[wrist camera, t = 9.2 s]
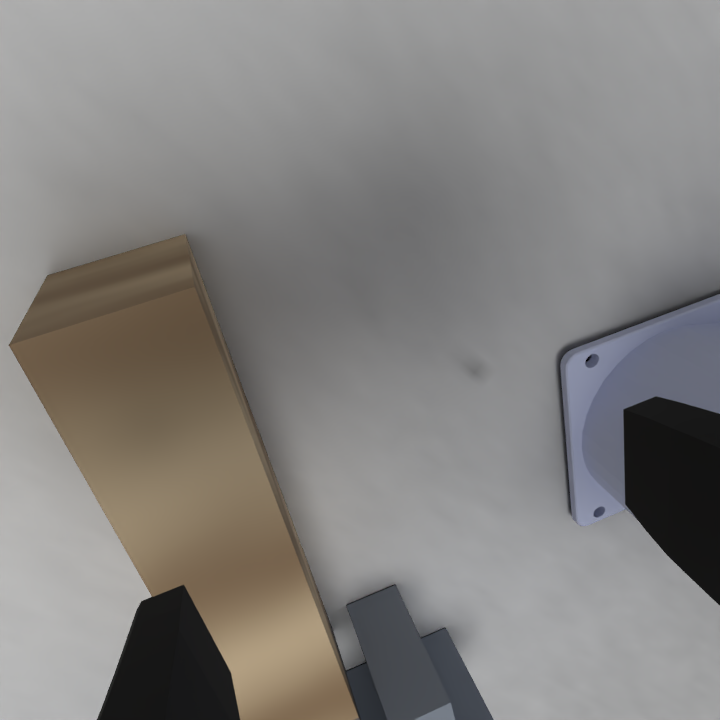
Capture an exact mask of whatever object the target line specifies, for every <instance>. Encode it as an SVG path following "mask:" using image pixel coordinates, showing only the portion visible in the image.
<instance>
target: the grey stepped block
mask: <svg viewBox="0 0 720 720" xmlns="http://www.w3.org/2000/svg"><path fill="white" fill-rule="evenodd" d="M347 608H348V611H349V614H350V617H351V620H352V622H353V625H354V628H355V631H356V634H357V637H358V639H359V642H360V645H361V648H362V651H363V654H364V656H365V659H366V662H367V663H365V664H363V665H360V666H358V667H356V668H354V669H351V670H349V671H347V672H346V673H347V677H348V680H349V683H350V686H351V689H352V692H353V696H354V699H355V702H356V705H357V708H358V711H359V714H360V718H361V720H493V718H492V716H491V714H490V712H489V710H488V708H487V706H486V704H485V702H484V700H483V699H482V697H481V695H480V693H479V691H478V689H477V687H476V685H475V683H474V681H473V679H472V677H471V676H470V674H469V672H468V670H467V668H466V666H465V664H464V662H463V660H462V658H461V656H460V655H459V653H458V651H457V649H456V647H455V645H454V643H453V641H452V639H451V637H450V635H449V633H448V632H447V630H446V628H444V629H442V630H440V631H437V632H435V633H433V634H431V635H428V636H426V637H424V638H422V639H421V638H420V636H419V634H418V632H417V630H416V627H415V625H414V623H413V621H412V619H411V617H410V615H409V612H408V610H407V608H406V606H405V604H404V602H403V600H402V598H401V595H400V593H399V591H398V589H397V587H396V585H394V586H391V587H389V588H387V589H384V590H382V591H380V592H377V593H375V594H373V595H370V596H368V597H365V598H363V599H361V600H358V601H356V602H354V603H351V604H349V605H347Z"/></svg>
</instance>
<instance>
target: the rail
mask: <svg viewBox="0 0 720 720" xmlns="http://www.w3.org/2000/svg"><path fill="white" fill-rule="evenodd" d="M9 346H10V348H11V350H12V351H13V353H14V355H15V357H16V358H17V360H18V362H19V364H20V365H21V367H22V369H23V371H24V372H25V374H26V376H27V378H28V380H29V381H30V383H31V385H32V387H33V388H34V390H35V392H36V394H37V395H38V397H39V399H40V401H41V402H42V404H43V406H44V408H45V409H46V411H47V413H48V415H49V416H50V418H51V420H52V422H53V423H54V425H55V427H56V429H57V430H58V432H59V434H60V436H61V437H62V439H63V441H64V443H65V445H66V446H67V448H68V450H69V452H70V453H71V455H72V457H73V459H74V460H75V462H76V464H77V466H78V467H79V469H80V471H81V473H82V474H83V476H84V478H85V480H86V481H87V483H88V485H89V487H90V488H91V490H92V492H93V494H94V495H95V497H96V499H97V501H98V502H99V504H100V506H101V508H102V510H103V511H104V513H105V515H106V517H107V518H108V520H109V522H110V524H111V525H112V527H113V529H114V531H115V532H116V534H117V536H118V538H119V539H120V541H121V543H122V545H123V546H124V548H125V550H126V552H127V553H128V555H129V557H130V559H131V560H132V562H133V564H134V566H135V567H136V569H137V571H138V573H139V575H140V576H141V578H142V580H143V582H144V583H145V585H146V587H147V589H148V590H149V592H150V594H151V596H152V597H154V596H156V595H159V594H161V593H164V592H166V591H169V590H171V589H174V588H176V587H179V586H181V585H184V586H185V587H186V589H187V591H188V593H189V595H190V597H191V599H192V601H193V602H194V604H195V606H196V608H197V610H198V612H199V614H200V615H201V617H202V619H203V621H204V623H205V625H206V627H207V629H208V630H209V632H210V634H211V636H212V638H213V640H214V642H215V644H216V645H217V647H218V649H219V651H220V653H221V655H222V657H223V658H224V660H225V662H226V664H227V666H228V668H229V670H230V672H231V675H232V680H233V685H234V690H235V695H236V700H237V705H238V710H239V716H240V720H361V718H360V714H359V711H358V708H357V705H356V702H355V699H354V696H353V692H352V689H351V686H350V683H349V680H348V677H347V673H346V670H345V667H344V664H343V661H342V658H341V654H340V651H339V648H338V645H337V642H336V639H335V636H334V632H333V630H332V627H331V624H330V622H329V619H328V616H327V613H326V611H325V608H324V605H323V603H322V600H321V597H320V595H319V592H318V589H317V587H316V584H315V581H314V579H313V576H312V573H311V571H310V568H309V565H308V562H307V560H306V557H305V554H304V552H303V549H302V546H301V544H300V541H299V538H298V536H297V533H296V530H295V528H294V525H293V522H292V519H291V517H290V514H289V511H288V509H287V506H286V503H285V501H284V498H283V495H282V493H281V490H280V487H279V485H278V482H277V479H276V476H275V474H274V471H273V468H272V466H271V463H270V460H269V458H268V455H267V452H266V450H265V447H264V444H263V442H262V439H261V436H260V433H259V431H258V428H257V425H256V423H255V420H254V417H253V415H252V412H251V409H250V407H249V404H248V401H247V399H246V396H245V393H244V391H243V388H242V385H241V382H240V380H239V377H238V374H237V372H236V369H235V366H234V364H233V361H232V358H231V356H230V353H229V350H228V348H227V345H226V342H225V339H224V337H223V334H222V331H221V329H220V326H219V323H218V321H217V318H216V315H215V313H214V310H213V307H212V305H211V302H210V299H209V296H208V294H207V291H206V288H205V286H204V283H203V280H202V278H201V275H200V272H199V270H198V267H197V264H196V262H195V259H194V256H193V254H192V251H191V248H190V245H189V243H188V240H187V237H186V235H185V234H184V235H181V236H178V237H174V238H171V239H168V240H164V241H161V242H158V243H154V244H151V245H147V246H144V247H141V248H137V249H134V250H131V251H127V252H124V253H121V254H117V255H114V256H111V257H107V258H104V259H101V260H97V261H94V262H91V263H87V264H84V265H81V266H77V267H74V268H71V269H67V270H64V271H61V272H57V273H54V274H51V275H47V277H46V279H45V281H44V283H43V284H42V286H41V288H40V290H39V292H38V294H37V295H36V297H35V299H34V301H33V303H32V304H31V306H30V308H29V310H28V312H27V313H26V315H25V317H24V319H23V321H22V322H21V324H20V326H19V328H18V330H17V332H16V333H15V335H14V337H13V339H12V341H11V342H10V344H9Z"/></svg>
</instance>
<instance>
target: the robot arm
mask: <svg viewBox="0 0 720 720" xmlns="http://www.w3.org/2000/svg"><path fill="white" fill-rule="evenodd" d="M591 354H592V355H591ZM590 355H591V358H590V360H589V361H587V362H586V359H587V358H588V356H590ZM585 362H586V363H585ZM560 369H561V382H562V395H563V407H564V420H565V433H566V446H567V459H568V472H569V485H570V498H571V511H572V518H573V520H574V521H575V522H576V523H577V524H578V525H580V526H587V525H590V524H592V523H595V522H597V521H599V520H602V519H604V518H606V517H609V516H611V515H613V514H616V513H618V512H620V511H623V510H625V509H627V510H628V511H629V512H630V513H631V514H632V515H633V516H634V517H635V518H636V519H637V520H638V521H639V522H640V523H641V525H642V526H643V527H644V528H645V530H646V531H647V532H648V533H649V534H650V536H651V537H652V538H653V539H654V540H655V541H656V543H657V544H658V545H659V546H660V547H661V548H662V550H663V551H664V552H665V553H666V554H667V555H668V556H669V557H670V558H671V559H672V560H673V561H674V562H675V563H676V564H677V565H678V566H679V567H680V568H681V569H682V570H683V571H684V572H685V573H686V574H687V575H688V576H689V577H690V578H691V579H692V580H693V581H695V582H696V583H697V584H698V585H699V586H700V587H701V588H702V589H703V590H704V591H705V592H706V593H707V594H708V595H709V596H710V597H711V598H712V599H713V600H715V601H716V602H717V603H718V604H719V605H720V294H718V295H715V296H713V297H710V298H707V299H705V300H702V301H699V302H697V303H694V304H691V305H689V306H686V307H683V308H681V309H678V310H675V311H673V312H670V313H667V314H665V315H662V316H659V317H657V318H654V319H651V320H649V321H646V322H643V323H641V324H638V325H635V326H633V327H630V328H627V329H625V330H622V331H619V332H617V333H614V334H611V335H609V336H606V337H603V338H601V339H598V340H595V341H593V342H590V343H587V344H585V345H582V346H579V347H577V348H574V349H572V350H570V351H568V352H567V353H566V354H565V355H564V356H563V358H562V360H561V365H560ZM97 720H240V716H239V710H238V705H237V700H236V695H235V690H234V685H233V680H232V675H231V672H230V670H229V668H228V666H227V664H226V662H225V660H224V658H223V657H222V655H221V653H220V651H219V649H218V647H217V645H216V644H215V642H214V640H213V638H212V636H211V634H210V632H209V630H208V629H207V627H206V625H205V623H204V621H203V619H202V617H201V615H200V614H199V612H198V610H197V608H196V606H195V604H194V602H193V601H192V599H191V597H190V595H189V593H188V591H187V589H186V587H185V586H184V585H181V586H179V587H176V588H174V589H171V590H169V591H166V592H164V593H161V594H159V595H156V596H154V597H151V598H149V599H146V600H144V601H141V603H140V605H139V607H138V609H137V611H136V614H135V617H134V620H133V622H132V625H131V628H130V631H129V634H128V637H127V640H126V643H125V646H124V648H123V651H122V654H121V657H120V660H119V663H118V665H117V668H116V671H115V674H114V676H113V679H112V682H111V684H110V687H109V690H108V693H107V695H106V698H105V701H104V703H103V706H102V709H101V711H100V714H99V716H98V719H97Z"/></svg>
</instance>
